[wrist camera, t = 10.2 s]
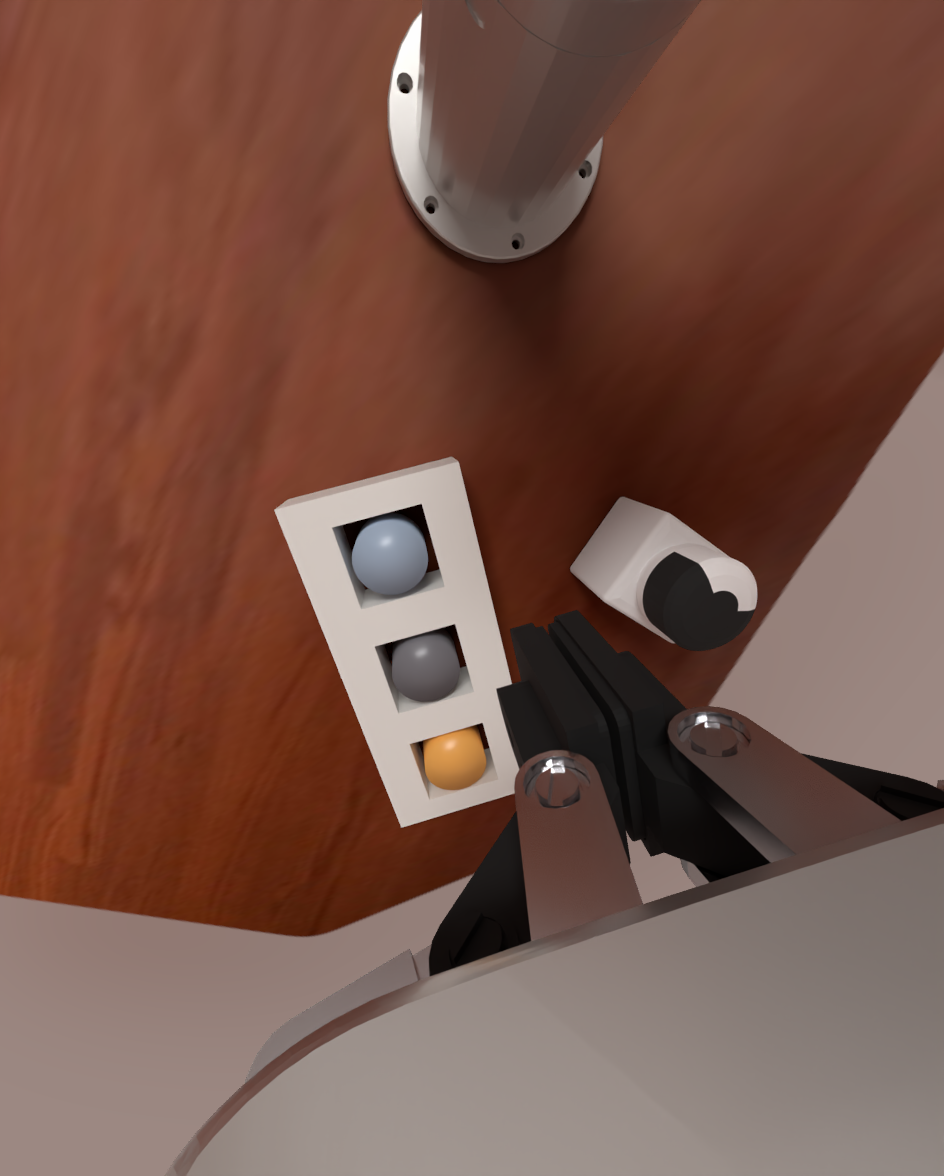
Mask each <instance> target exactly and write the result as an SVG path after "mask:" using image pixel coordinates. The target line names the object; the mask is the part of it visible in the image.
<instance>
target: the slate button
mask: <svg viewBox="0 0 944 1176" xmlns="http://www.w3.org/2000/svg"><path fill="white" fill-rule="evenodd" d="M352 565H353V569H354V571H355V574H356V575H357V577H358V579H359V580H360V581H361V582H362V583H363V584H364V585H365V586H366V587H367V588H369V589H370V590H372V591H374V592H377V593H380V594H385V595H397V594H401V593H404V592H407V591H409V590H411V589H412V588H414V587H415V586H416V585H417V584H418V583H419V582H420V581H421V580H422V578H423V577H424V575H425V572H426V570H427V565H428V553H427V549H426V544H425V539H424V536H423V533H422V531H421V529H420V528H419V526H418V525H417V524H416V523H415V522H414V521H413V520H411V519H410V518H408V517H406V516H404V515H402V514H398V513H385V514H381V515H378V516H374V517H372V518H371V519H369V520H368V521H367V522H366V523H365V524H364V525H363V526H362V528H361V529H360V531H359V534H358V536H357V539H356V542H355V545H354V548H353V552H352Z"/></svg>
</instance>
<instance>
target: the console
mask: <svg viewBox="0 0 944 1176" xmlns="http://www.w3.org/2000/svg"><path fill="white" fill-rule="evenodd" d="M419 504H422V507H423V510H424V514H425V518H426V521H427V525H428V528H429V532H430V536H431V539H432V543H433V546H434V550H435V553H436V557H437V561H438V564H439V568H440V569H439V570H436V571H432V572H428V573H425V575H424V577H423V578H422V580H421V581H420V582H419V583H418V584H417V585H416V586H415V587H414V588H412V589H411V590H409V591H407V592H404V593H401V594H397V595H385V594H380V593H377V592H374V591H372V590H370V589H366V590H365V588H364V585H363V583H362V582H361V581H360V580H359V579H358V577H357V575H356V574H355V571H354V569H353V565H352V551H351V548H350V545H349V542H348V539H347V537H346V534H345V531H344V528H343V525H344V524H348V523H351V522H355V521H359V520H363V519H366V518H370V517H374V516H378V515H381V514H385V513H389V512H393V511H396V510H400V509H404V508H408V507H412V506H415V505H419ZM275 513H276V515H277V518H278V520H279V523H280V525H281V528H282V530H283V533H284V535H285V538H286V540H287V543H288V545H289V548H290V550H291V553H292V555H293V558H294V560H295V563H296V565H297V568H298V570H299V573H300V575H301V578H302V580H303V583H304V585H305V588H306V590H307V593H308V595H309V598H310V600H311V603H312V605H313V608H314V610H315V613H316V615H317V618H318V620H319V623H320V625H321V628H322V630H323V633H324V635H325V638H326V640H327V643H328V645H329V648H330V650H331V653H332V655H333V658H334V660H335V663H336V665H337V668H338V670H339V673H340V675H341V678H342V680H343V683H344V685H345V688H346V690H347V693H348V695H349V698H350V700H351V703H352V705H353V708H354V710H355V713H356V715H357V718H358V720H359V723H360V725H361V728H362V730H363V733H364V735H365V738H366V740H367V743H368V745H369V748H370V750H371V753H372V755H373V758H374V760H375V763H376V765H377V768H378V770H379V773H380V775H381V778H382V780H383V783H384V785H385V788H386V790H387V793H388V795H389V798H390V800H391V803H392V805H393V808H394V810H395V813H396V815H397V818H398V820H399V823H400V825H401V828H402V827H405V826H409V825H412V824H415V823H419V822H422V821H425V820H428V819H432V818H435V817H438V816H442V815H445V814H448V813H451V812H455V811H458V810H461V809H465V808H468V807H471V806H474V805H478V804H481V803H484V802H488V801H491V800H494V799H498V798H501V797H504V796H507V795H511V794H514V793H515V791H514V785H515V777H516V775H517V773H518V771H519V767H518V764H517V761H516V758H515V755H514V752H513V749H512V746H511V743H510V740H509V737H508V733H507V730H506V726H505V723H504V719H503V715H502V711H501V708H500V704H499V700H498V696H497V691H496V689H497V688H500V687H504V686H507V685H510V684H512V682H511V678H510V674H509V670H508V666H507V661H506V657H505V653H504V649H503V645H502V641H501V636H500V632H499V628H498V624H497V620H496V616H495V611H494V607H493V603H492V599H491V595H490V591H489V586H488V582H487V578H486V574H485V570H484V566H483V561H482V557H481V553H480V549H479V545H478V541H477V536H476V532H475V528H474V524H473V520H472V516H471V511H470V507H469V503H468V499H467V495H466V490H465V486H464V482H463V478H462V474H461V470H460V465H459V462H458V461H457V460H456V459H454V458H453V457H449V458H445V459H441V460H437V461H433V462H429V463H426V464H422V465H418V466H414V467H410V468H406V469H403V470H399V471H395V472H391V473H387V474H383V475H380V476H376V477H372V478H368V479H364V480H360V481H357V482H353V483H349V484H345V485H341V486H337V487H334V488H330V489H326V490H322V491H318V492H315V493H311V494H307V495H303V496H299V497H295V498H292V499H288V500H287V501H285V502H284V503H283V504H281V505H280V506H279V507H277V508H276V509H275ZM453 624H455V625H456V629H457V633H458V636H459V640H460V643H461V647H462V651H463V654H464V658H465V661H466V665H467V666H465V667H462V668H460V675H459V679H458V681H457V683H456V685H455V687H454V688H453V689H452V690H451V691H450V692H449V693H448V694H447V695H445V696H444V697H442V698H440V699H437V700H434V701H428V702H421V701H415V700H412V699H409V698H407V697H405V696H404V695H403V694H401V693H400V692H399V691H398V689H397V688H396V686H395V685H394V682H393V679H392V666H391V663H390V660H389V657H388V654H387V651H386V648H385V646H384V644H386V643H389V642H393V641H396V640H400V639H403V638H407V637H411V636H414V635H418V634H421V633H425V632H428V631H432V630H435V629H439V628H443V627H446V626H450V625H453ZM480 723H483V726H484V730H485V733H486V737H487V740H488V744H489V748H488V749H485V750H484V752H485V756H486V768H485V771H484V773H483V775H482V776H481V777H480V779H479V780H478V781H476V782H475V783H474V784H472V785H471V786H469V787H466V788H464V789H460V790H445V789H441V788H439V787H437V786H435V785H433V784H432V783H431V782H430V781H429V779H428V778H427V776H426V773H425V763H424V757H423V754H422V752H421V749H420V746H419V743H418V742H419V741H422V740H426V739H429V738H432V737H436V736H439V735H443V734H446V733H449V732H453V731H456V730H460V729H463V728H466V727H470V726H473V725H477V724H480Z"/></svg>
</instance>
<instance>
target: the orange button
mask: <svg viewBox="0 0 944 1176" xmlns="http://www.w3.org/2000/svg"><path fill="white" fill-rule="evenodd" d="M423 750H424V763H425V773H426V776H427V778H428V779H429V781H430V782H431V783H432V784H433V785H435V786H437V787H439V788H441V789H445V790H460V789H464V788H466V787H469V786H471V785H472V784H474V783H475V782H476V781H478V780H479V779H480V777H481V776H482V775H483V773H484V771H485V768H486V756H485V752H484V749H483V745H482V741H481V737H480V733H479V729H478V727H477V725H473V726H470V727H466V728H463V729H460V730H456V731H453V732H449V733H446V734H443V735H439V736H436V737H432V738H429V739H426V740H423Z"/></svg>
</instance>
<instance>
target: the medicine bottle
mask: <svg viewBox="0 0 944 1176" xmlns="http://www.w3.org/2000/svg"><path fill="white" fill-rule="evenodd" d="M570 571H571V572H572V573H573V574H574V575H575V576H576V577H577V578H578V579H579V580H580V581H581V582H583V583H584V584H585V585H586V586H587V587H588V588H589V589H590V590H591V591H593V592H594V593H595V594H596V595H597V596H598V597H599V598H600V599H601V600H603V601H604V602H605V603H607V604H608V605H610V606H612V607H613V608H615V609H616V610H618V611H620V612H621V613H623V614H625V615H626V616H628V617H629V618H631V619H633V620H634V621H636V622H638V623H639V624H641V625H643V626H644V627H646V628H647V629H649V630H651V631H652V632H654V633H656V634H657V635H659V636H660V637H662V638H664V639H665V640H667V641H669V642H670V643H676V644H677V645H679V646H680V647H682V648H685V649H688V650H693V651H704V650H709V649H713V648H716V647H719V646H722V645H724V644H726V643H728V642H729V641H731V640H732V639H734V638H735V637H736V636H737V635H739V634H740V633H741V632H742V631H743V629H744V628H745V627H746V626H747V624H748V623H749V621H750V619H751V618H752V616H753V613H754V611H755V607H756V603H757V585H756V581H755V578H754V576H753V574H752V572H751V571H750V570H749V569H748V567H746V566H745V565H744V564H743V563H741V562H739V561H737V560H735V559H733V558H730V557H729V556H728V555H726V554H725V553H723V552H722V551H721V550H719V549H718V548H717V547H715V546H714V545H713V544H711V543H710V542H708V541H707V540H706V539H704V538H703V537H702V536H700V535H699V534H698V533H696V532H695V531H693V530H692V529H691V528H689V527H688V526H687V525H685V524H684V523H683V522H681V521H680V520H678V519H677V518H676V517H674V516H673V515H672V514H670V513H668V512H665V511H662V510H659V509H657V508H654V507H651V506H648V505H645V504H643V503H640V502H637V501H634V500H631V499H629V498H626V497H620V498H619V499H618V500H617V502H616V503H615V504H614V506H613V507H612V509H611V510H610V511H609V513H608V514H607V516H606V517H605V519H604V520H603V521H602V523H601V524H600V526H599V527H598V529H597V530H596V531H595V533H594V534H593V536H592V537H591V538H590V540H589V541H588V543H587V544H586V546H585V547H584V548H583V550H582V551H581V553H580V554H579V555H578V557H577V558H576V560H575V561H574V563H573V564H572V565H571V567H570Z"/></svg>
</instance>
